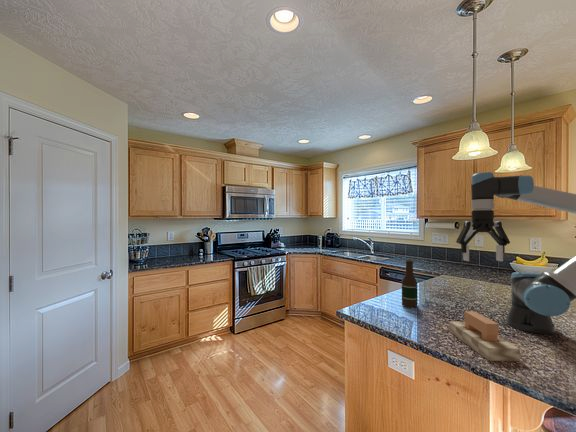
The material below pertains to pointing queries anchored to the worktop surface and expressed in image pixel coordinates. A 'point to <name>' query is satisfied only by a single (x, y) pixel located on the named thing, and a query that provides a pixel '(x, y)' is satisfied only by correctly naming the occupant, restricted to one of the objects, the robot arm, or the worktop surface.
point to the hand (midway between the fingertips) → (482, 260)
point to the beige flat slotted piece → (485, 344)
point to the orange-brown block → (482, 326)
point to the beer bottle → (409, 287)
